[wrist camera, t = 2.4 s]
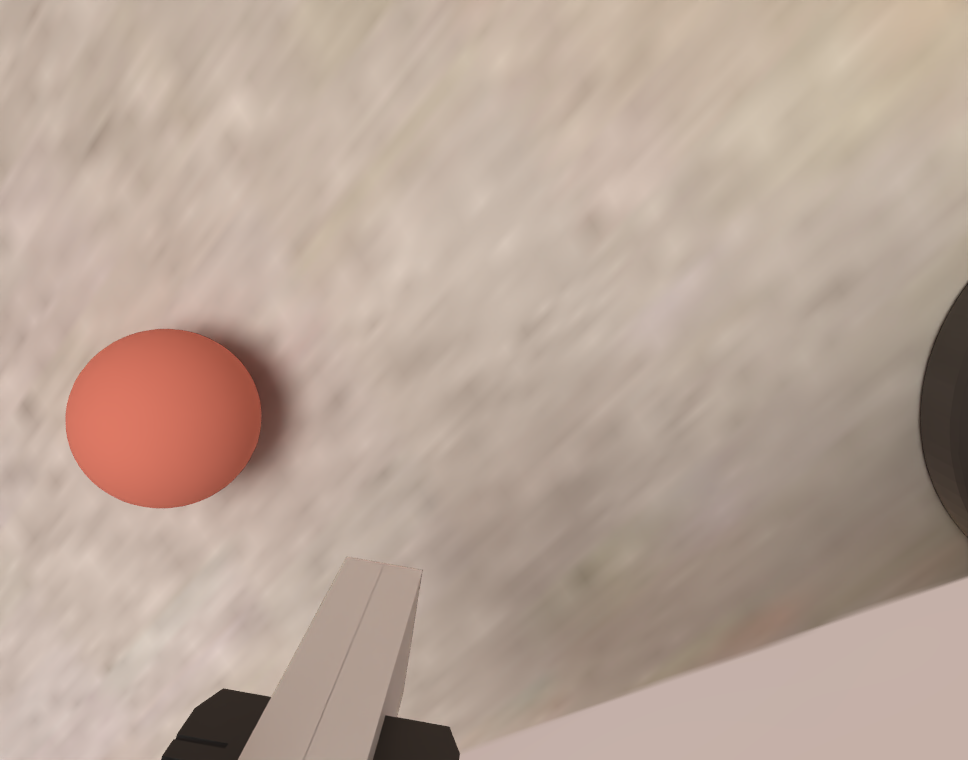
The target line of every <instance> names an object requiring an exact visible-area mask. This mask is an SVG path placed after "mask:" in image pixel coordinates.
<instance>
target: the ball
mask: <svg viewBox="0 0 968 760" xmlns="http://www.w3.org/2000/svg"><path fill="white" fill-rule="evenodd" d="M260 428H261V404H260V399H259V395H258V392H257V389H256V386H255V384H254V382H253V380H252V378H251V376H250V374H249V372H248V371H247V370H246V368H245V367H244V365H243V364H242V363H241V362H240V361H239V360H238V358H237V357H236V356H235V355H233V354H232V353H231V352H230V351H229V350H228V349H226V348H225V347H223V346H222V345H220V344H219V343H217V342H215V341H213V340H211V339H209V338H207V337H205V336H202V335H199V334H197V333H193V332H188V331H183V330H174V329H155V330H149V331H143V332H138V333H135V334H132V335H129V336H126V337H124V338H122V339H120V340H117V341H115V342H113V343H112V344H110V345H109V346H107V347H106V348H104V349H103V350H102V351H100V352H99V353H98V354H97V355H96V356H94V357H93V358H92V359H91V360H90V361H89V363H88V364H87V365H86V366H85V368H84V369H83V370H82V371H81V373H80V374H79V376H78V377H77V379H76V381H75V383H74V385H73V388H72V390H71V393H70V395H69V399H68V403H67V408H66V432H67V439H68V442H69V446H70V449H71V451H72V454H73V456H74V458H75V460H76V461H77V463H78V465H79V467H80V468H81V469H82V471H83V472H84V473H85V474H86V476H87V477H88V478H89V479H90V480H91V481H92V482H93V483H94V484H96V485H97V486H98V487H99V488H101V489H102V490H104V491H105V492H107V493H108V494H110V495H112V496H114V497H115V498H117V499H119V500H122V501H124V502H127V503H130V504H134V505H138V506H143V507H150V508H173V507H180V506H185V505H189V504H193V503H196V502H199V501H201V500H203V499H206V498H208V497H210V496H212V495H214V494H215V493H217V492H218V491H220V490H222V489H223V488H225V487H226V486H227V485H228V484H229V483H231V482H232V481H233V480H234V479H235V478H236V477H237V475H238V474H239V473H240V472H241V471H242V470H243V469H244V467H245V466H246V464H247V463H248V461H249V460H250V458H251V456H252V454H253V452H254V450H255V447H256V445H257V442H258V438H259V434H260Z"/></svg>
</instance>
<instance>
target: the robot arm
mask: <svg viewBox="0 0 968 760" xmlns="http://www.w3.org/2000/svg"><path fill="white" fill-rule="evenodd" d="M921 435H922V443H923V450H924V455H925V459H926V463H927V467H928V470H929V473H930V476H931V480H932V482H933V484H934V487H935V489H936V491H937V494H938V496H939V497H940V499H941V501H942V503H943V505H944V507H945V508H946V510H947V511H948V513H949V515H950V516H951V518H952V519H953V520H954V522H955V523H956V524H957V525H958V527H959V528H960V529H961V530H962V532H963V533H964V534H965V535H966V536H967V537H968V284H967V286H966V287H965V289H964V290H963V292H962V293H961V294H960V296H959V297H958V299H957V301H956V302H955V304H954V306H953V307H952V309H951V311H950V312H949V314H948V316H947V318H946V320H945V322H944V324H943V326H942V328H941V330H940V332H939V335H938V337H937V340H936V342H935V344H934V347H933V350H932V353H931V356H930V359H929V363H928V367H927V371H926V374H925V380H924V385H923V391H922V401H921ZM422 571H423V570H420V569H414V568H408V567H403V566H397V565H391V564H386V563H380V562H374V561H369V560H363V559H357V558H352V557H346V559H345V561H344V562H343V564H342V566H341V568H340V570H339V572H338V574H337V576H336V577H335V579H334V581H333V583H332V585H331V587H330V589H329V590H328V592H327V594H326V596H325V598H324V600H323V602H322V604H321V605H320V607H319V609H318V611H317V613H316V615H315V617H314V618H313V620H312V622H311V624H310V626H309V628H308V630H307V632H306V633H305V635H304V637H303V639H302V641H301V643H300V645H299V646H298V648H297V650H296V652H295V654H294V656H293V658H292V659H291V661H290V663H289V665H288V667H287V669H286V671H285V673H284V674H283V676H282V678H281V680H280V682H279V684H278V686H277V687H276V689H275V691H274V693H273V695H272V697H268V696H262V695H257V694H251V693H245V692H240V691H234V690H229V689H222V690H220V691H219V692H217V693H216V694H215V695H213V696H212V697H210V698H209V699H207V700H206V701H204V702H203V703H202V704H200V705H199V706H197V707H196V708H195V709H194V710H193V712H192V713H191V715H190V716H189V718H188V719H187V720H186V722H185V723H184V725H183V726H182V728H181V729H180V731H179V732H178V734H177V737H176V739H173V741H172V742H171V744H170V745H169V747H168V748H167V750H166V751H165V753H164V754H163V756H162V759H161V760H459V755H460V753H459V750H458V748H457V745H456V743H455V740H454V738H453V735H452V732H451V730H450V727H448V726H442V725H437V724H431V723H426V722H420V721H414V720H409V719H403V718H398V717H397V715H398V711H399V707H400V703H401V699H402V696H403V691H404V685H405V678H406V672H407V666H408V659H409V653H410V647H411V640H412V634H413V628H414V621H415V615H416V609H417V602H418V596H419V590H420V583H421V577H422Z"/></svg>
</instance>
